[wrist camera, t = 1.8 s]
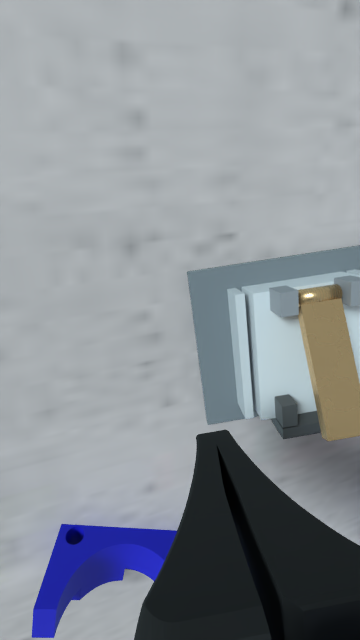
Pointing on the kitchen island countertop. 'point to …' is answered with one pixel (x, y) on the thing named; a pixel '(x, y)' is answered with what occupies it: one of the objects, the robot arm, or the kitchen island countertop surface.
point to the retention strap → (330, 361)
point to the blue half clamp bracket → (94, 566)
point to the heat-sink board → (218, 316)
